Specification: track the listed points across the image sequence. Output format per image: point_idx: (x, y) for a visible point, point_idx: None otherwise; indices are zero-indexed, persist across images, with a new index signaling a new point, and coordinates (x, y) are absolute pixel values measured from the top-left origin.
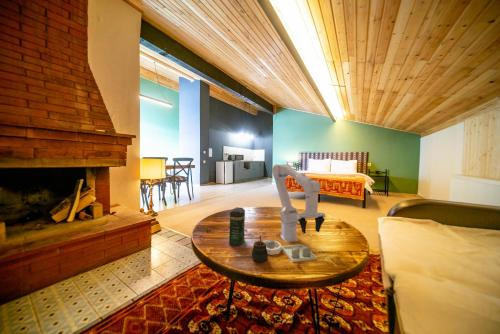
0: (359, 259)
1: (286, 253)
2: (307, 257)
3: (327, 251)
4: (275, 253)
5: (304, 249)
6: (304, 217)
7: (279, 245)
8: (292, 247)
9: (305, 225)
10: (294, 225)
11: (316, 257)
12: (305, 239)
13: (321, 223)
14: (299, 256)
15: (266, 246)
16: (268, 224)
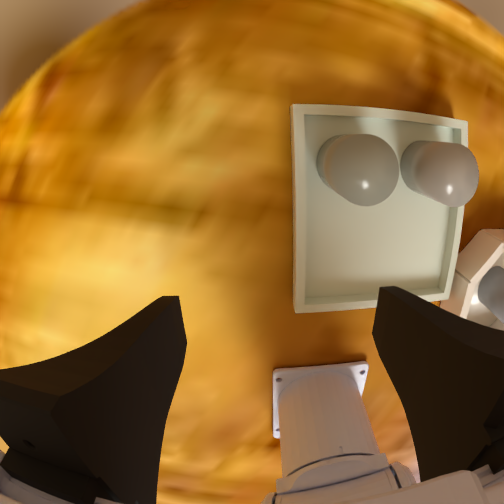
0: (16, 106)
1: (461, 212)
2: (368, 114)
3: (136, 213)
4: (499, 232)
5: (393, 154)
6: (489, 480)
7: (471, 291)
8: (465, 203)
9: (460, 331)
10: (324, 462)
11: (294, 104)
12: (213, 383)
13: (81, 356)
14: (409, 150)
15: (492, 314)
16: None
